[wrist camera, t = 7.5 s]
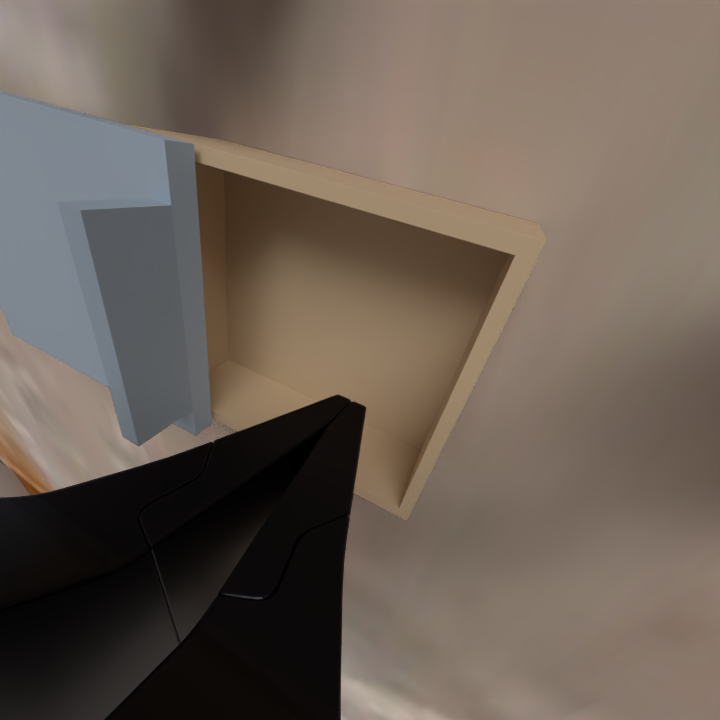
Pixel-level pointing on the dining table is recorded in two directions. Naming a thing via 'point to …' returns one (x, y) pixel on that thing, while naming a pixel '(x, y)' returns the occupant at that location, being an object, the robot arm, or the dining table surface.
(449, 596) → the dining table surface
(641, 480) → the dining table surface
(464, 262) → the tan shallow open box
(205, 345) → the lid
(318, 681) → the robot arm
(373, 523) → the dining table surface
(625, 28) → the dining table surface
